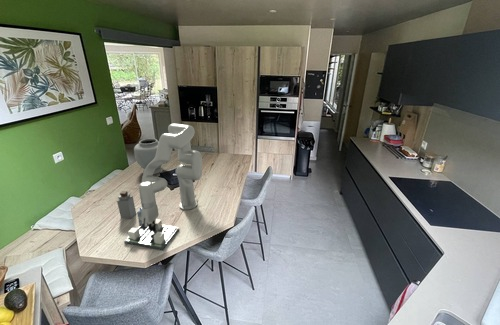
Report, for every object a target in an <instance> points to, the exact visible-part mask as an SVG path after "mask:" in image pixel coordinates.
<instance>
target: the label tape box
mask: <svg viewBox="0 0 500 325" xmlns="http://www.w3.org/2000/svg"><path fill="white" fill-rule="evenodd" d="M141 208H142V207H139V211H136V214H137V219H138V223H139V224H140V225H141V224H142V220H141Z"/></svg>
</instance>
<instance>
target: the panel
mask: <svg viewBox="0 0 500 325" xmlns="http://www.w3.org/2000/svg"><path fill="white" fill-rule="evenodd" d="M137 228H139V232H140V235H139V236H138V237H137V238H136V239H135V240H133V239H129V236H127V237H126V239H124V240H123V242H124V244H126V245H129V246H135V247H141V248H147V249H152V250H157V251H161V252H162V251H165V249H166V248H167V246H168V245H169V244H170V243H171V242H172V240H173V239H174V237H175V236H176V235H177V234H178V233H179V231H180V227H179V226H173V225H166V224H162V227H161V228H160V229H159V230H158V231H157V230H155V231H154V232H152V231H149V226H148V227H145V223H144V224H140V225H139V226H138V227H137ZM157 232H164V235H165V240H164V241H163V242H162V244H155V242H154V235H155V234H156V233H157Z"/></svg>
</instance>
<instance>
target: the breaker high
mask: <svg viewBox="0 0 500 325" xmlns="http://www.w3.org/2000/svg"><path fill="white" fill-rule="evenodd" d="M164 240H165V235H164V232H157V233H156V234H155V235H154V242H155V244H162V242H163V241H164Z"/></svg>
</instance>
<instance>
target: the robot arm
mask: <svg viewBox="0 0 500 325" xmlns="http://www.w3.org/2000/svg"><path fill="white" fill-rule="evenodd" d="M167 130H168V131H167V132H168V133H167V132H165V133H162V134H161V135H160V137H159V139H158V141H159V143H158V147H157V151H156V155H155V158H154V159H153V160H152V161H151V162H150V163H149V164H148V165H147V167H146V168H145V170H144V169H143V171H144V172H143V173H142V177H141V182H140V183H139V185H138V190H139V191H138V192H139V196H140V197H139V198H140V205H141V207H140V208H141V220H142V224H144V223H145V227H148V226H149V231H152V232H154V231H155V230H156V227H155V224H156V219H157V218H158V217H159V215H160V214H159V208H158V204H157V201H156V193H159V192H161V191H162V192H163V191H164V190H165V189H166V188H167V187H168V181H167V180H166V179H165V178H164V177H159V176H156V175H155V176H154V174H153V173H154V171H155V169H156V168H157V167H158V166H160V165H162V166H163V165H165V164H168V163H170V161H171V158H172V154H173V150H174V149H175V150H176V151H177V160H178V161H179V163H180V164H179V165H178V166H176V169H175V174H176V177H177V181H178V186H179V193H180V194H179V196H180V202H179V205H178V207H179V208H180V209H181V210H184V211H188V210H189V211H190V210H194V208H196V207H197V206H198V202H197V200H196V198H197V194H195V186H194V181H199V180H201V178H202V174H203V157H202V154H201V152H200V151H198V150H195V149H192V147H191V140H192V139H193V138H194V136H195V134H196V131H195V128H194V126H192V125H190V124H182V123H171V124H169V125H168V127H167Z"/></svg>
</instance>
